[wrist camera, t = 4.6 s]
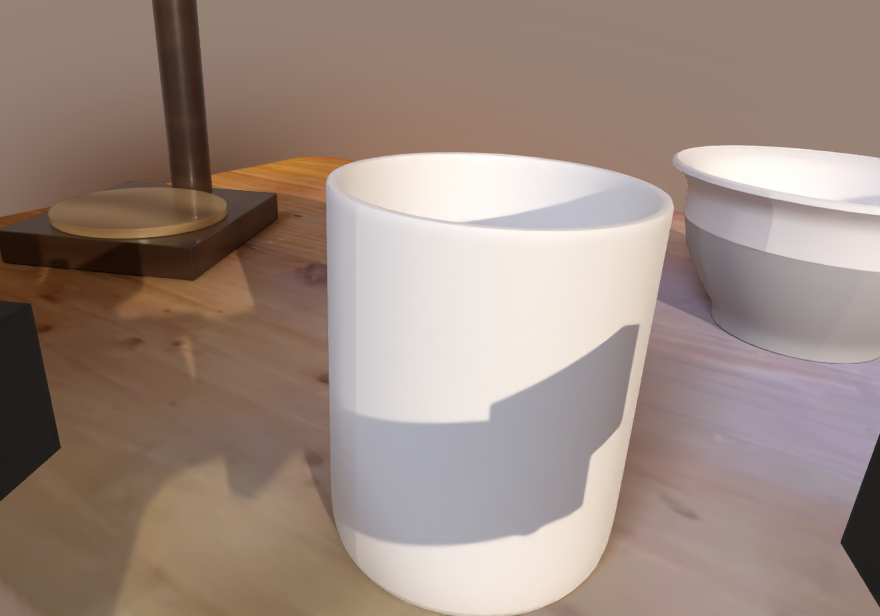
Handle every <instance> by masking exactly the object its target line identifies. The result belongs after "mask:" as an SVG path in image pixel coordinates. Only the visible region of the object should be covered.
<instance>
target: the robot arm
mask: <svg viewBox="0 0 880 616" xmlns="http://www.w3.org/2000/svg"><path fill="white" fill-rule="evenodd" d="M60 448H61V446H60V442H59V437H58V432H57V427H56V422H55V417H54V413H53V408H52V403H51V398H50V393H49V388H48V384H47V379H46V374H45V369H44V364H43V359H42V355H41V350H40V345H39V340H38V335H37V330H36V326H35V321H34V316H33V311H32V306H31V304H27V303H17V302H7V301H0V501H1V500H2V499H3V498H4V497H6V496H7V495H8V494H9V493H10V492H11V491H12V490H13V489H15V488H16V487H17V486H18V485H19V484H20V483H21V482H23V481H24V480H25V479H26V478H27V477H28V476H29V475H31V474H32V473H33V472H34V471H35V470H36V469H37V468H38V467H40V466H41V465H42V464H43V463H44V462H45V461H46V460H48V459H49V458H50V457H51V456H52V455H53V454H54V453H56V452H57V451H58V450H59V449H60ZM841 544H842V546H843V548H844V549H845V551H846V553H847V554H848V556H849V558H850V559H851V561H852V563H853V564H854V566H855V568H856V569H857V571H858V572H859V574H860V576H861V577H862V579H863V581H864V582H865V584H866V586H867V587H868V589H869V591H870V592H871V594H872V595H873V597H874V599H875V600H876V602H877V604H878V605H879V607H880V434H879V437H878V440H877V443H876V446H875V448H874V451H873V454H872V457H871V459H870V462H869V465H868V468H867V470H866V473H865V476H864V479H863V482H862V484H861V487H860V490H859V493H858V495H857V498H856V501H855V504H854V507H853V509H852V512H851V515H850V518H849V520H848V523H847V526H846V529H845V531H844V534H843V537H842V540H841Z"/></svg>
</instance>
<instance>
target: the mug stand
mask: <svg viewBox="0 0 880 616" xmlns="http://www.w3.org/2000/svg"><path fill="white" fill-rule="evenodd" d="M152 5H153V14H154V23H155V33H156V42H157V51H158V60H159V70H160V78H161V88H162V97H163V106H164V116H165V125H166V134H167V144H168V152H169V163H170V172H171V181H172V185H168V184H155V183H143V182H131V181H128V182H125V183H123V184H120V185H117V186H115V187H112V188H109V189H106V190H104V191H100V192H94V193H89V194H84V195H80V196H76V197H72V198H69V199H66V200H63V201H61V202H59V203H57V204H55V205H53V206H52V207H51V208H50V209H49V211H47V212H44V213H42V214H39V215H36V216H34V217H31V218H28V219H26V220H23V221H20V222H18V223H15V224H12V225H9V226H7V227H4V228H1V229H0V252H1V256H2V261H3V262H8V263H18V264H29V265H39V266H50V267H60V268H71V269H81V270H91V271H102V272H112V273H123V274H133V275H144V276H154V277H164V278H175V279H185V280H195V279H196V278H198V277H199V276H200V275H202V274H203V273H204V272H206V271H207V270H208V269H210V268H211V267H213V266H214V265H215V264H217V263H218V262H219V261H221V260H222V259H223V258H225V257H226V256H227V255H229V254H230V253H232V252H233V251H234V250H236V249H237V248H238V247H240V246H241V245H242V244H244V243H245V242H246V241H248V240H249V239H251V238H252V237H253V236H255V235H256V234H257V233H259V232H260V231H261V230H263V229H264V228H265V227H267V226H268V225H270V224H271V223H272V222H274V221H275V220H276V219H278V210H277V194H276V193H266V192H254V191H241V190H229V189H217V188H212V181H211V169H210V157H209V145H208V133H207V121H206V109H205V97H204V86H203V74H202V62H201V50H200V38H199V26H198V14H197V2H196V0H152Z"/></svg>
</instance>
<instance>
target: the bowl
mask: <svg viewBox="0 0 880 616" xmlns="http://www.w3.org/2000/svg"><path fill="white" fill-rule="evenodd" d="M672 164H673V165H674V166H675V167H676V168H677V169H678V170H680V171H681V172H682V173H683V174H684V175H685V177H686V179H687V183H688V189H687V195H686V201H685V207H684V215H685V228H686V242H687V245H688V248H689V251H690V255H691V258H692V261H693V264H694V267H695V269H696V271H697V273H698V275H699V277H700V279H701V281H702V283H703V286H704V288H705V290H706V291H707V293H708V295H709V297H710V299H711V302H712V307H711V316H712V318H713V319H714V321H715V322H716V323H717V324H718V325H719V326H720V327H721V328H722V329H724V330H725V331H727V332H728V333H730V334H731V335H733V336H735V337H737V338H739V339H741V340H743V341H745V342H747V343H750V344H752V345H755V346H757V347H760V348H763V349H766V350H769V351H772V352H775V353H778V354H782V355H786V356H790V357H794V358H799V359H805V360H810V361H817V362H826V363H843V364H851V363H863V362H867V361H871V360H875V359H876V358H878V357H880V158H874V157H868V156H860V155H853V154H844V153H836V152H828V151H818V150H808V149H796V148H783V147H765V146H707V147H696V148H691V149H686V150H683V151H680V152H679V153H677V154H675V155H674V157H673V161H672Z"/></svg>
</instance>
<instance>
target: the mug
mask: <svg viewBox="0 0 880 616" xmlns="http://www.w3.org/2000/svg"><path fill="white" fill-rule="evenodd" d="M673 211H674V207H673V202H672V199H671V198H670V196H669V195H668V194H667V193H665V192H664V191H663V190H661V189H660V188H658V187H656V186H654V185H652V184H650V183H647V182H645V181H642V180H640V179H637V178H634V177H631V176H628V175H625V174H621V173H618V172H614V171H610V170H606V169H602V168H598V167H593V166H588V165H583V164H578V163H572V162H566V161H559V160H552V159H545V158H537V157H528V156H517V155H505V154H489V153H463V152H462V153H461V152H438V153H413V154H399V155H390V156H382V157H376V158H370V159H365V160H360V161H356V162H353V163H349V164H346V165H344V166H341V167H339V168H337V169H336V170H334V171H333V172H331V174H330V175H329V176H328V178H327V181H326V227H327V287H328V347H329V407H330V466H331V497H332V507H333V514H334V520H335V524H336V527H337V531H338V534H339V536H340V539H341V542H342V544H343V545H344V547H345V549H346V551H347V552H348V554H349V556H350V557H351V558H352V559H353V561H354V562H355V563H356V564H357V566H358V567H359V568H360V569H361V570H362V572H363V573H364V574H365V575H367V576H368V577H369V578H370V579H371V580H372V581H373V582H374V583H375V584H377V585H378V586H380V587H381V588H383V589H384V590H386V591H387V592H389V593H390V594H392V595H394V596H396V597H398V598H400V599H402V600H403V601H405V602H408V603H410V604H413V605H415V606H418V607H421V608H423V609H426V610H430V611H434V612H438V613H442V614H446V615H453V616H513V615H518V614H524V613H527V612H530V611H533V610H537V609H540V608H543V607H545V606H547V605H549V604H551V603H554V602H556V601H558V600H559V599H561V598H562V597H564V596H566V595H567V594H569V593H570V592H572V591H573V590H574V589H575V588H577V587H578V586H579V585H580V584H581V583H582V582H583V581H584V580H585V579H587V578H588V576H589V575H590V574H591V573H592V571H593V570H594V569H595V567H596V566H597V564H598V562H599V560H600V558H601V556H602V554H603V552H604V550H605V548H606V546H607V543H608V539H609V536H610V532H611V529H612V525H613V521H614V517H615V512H616V508H617V503H618V497H619V492H620V487H621V482H622V477H623V471H624V466H625V461H626V456H627V451H628V445H629V440H630V435H631V430H632V425H633V419H634V414H635V409H636V404H637V399H638V393H639V388H640V383H641V378H642V373H643V367H644V362H645V357H646V352H647V347H648V341H649V336H650V331H651V326H652V320H653V315H654V310H655V305H656V300H657V294H658V289H659V284H660V279H661V274H662V268H663V263H664V258H665V253H666V248H667V242H668V237H669V232H670V227H671V222H672V216H673Z"/></svg>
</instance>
